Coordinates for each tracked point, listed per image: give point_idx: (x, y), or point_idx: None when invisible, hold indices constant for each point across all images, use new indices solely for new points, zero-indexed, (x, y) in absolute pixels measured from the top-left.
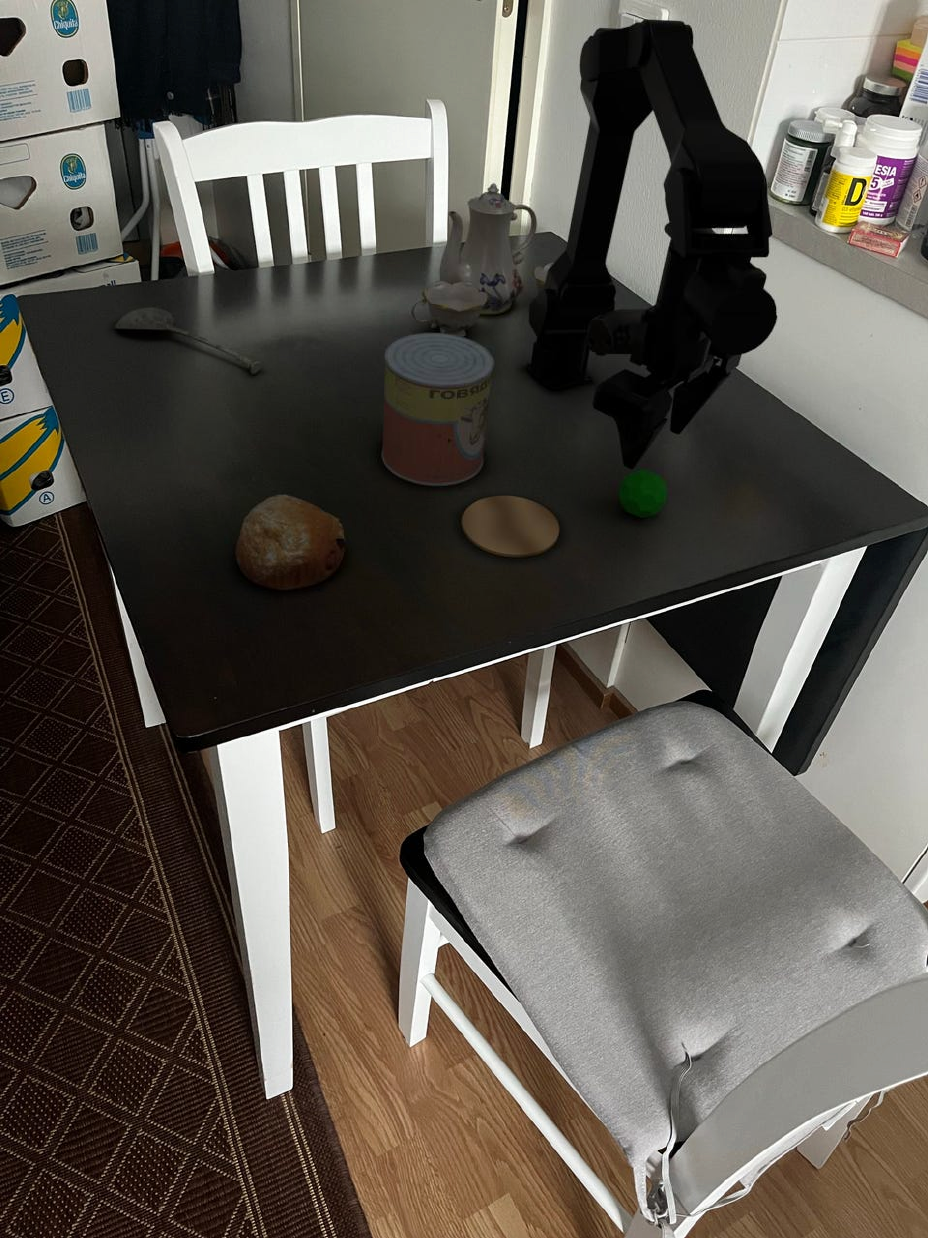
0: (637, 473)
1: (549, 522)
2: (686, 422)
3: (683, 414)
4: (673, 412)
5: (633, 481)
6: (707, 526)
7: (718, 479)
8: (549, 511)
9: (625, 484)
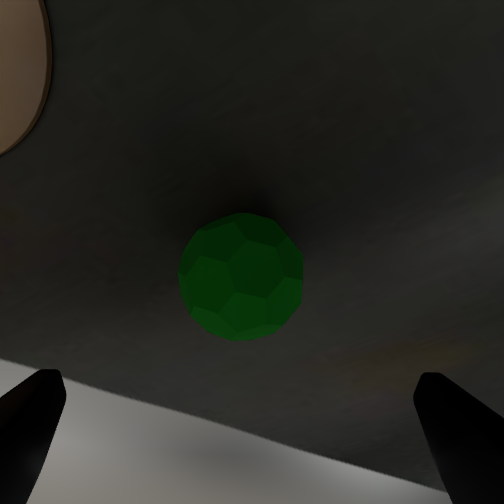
0: (231, 287)
1: (5, 108)
2: (441, 476)
3: (474, 493)
4: (486, 448)
5: (205, 283)
6: (292, 356)
7: (464, 310)
8: (43, 76)
9: (198, 257)
